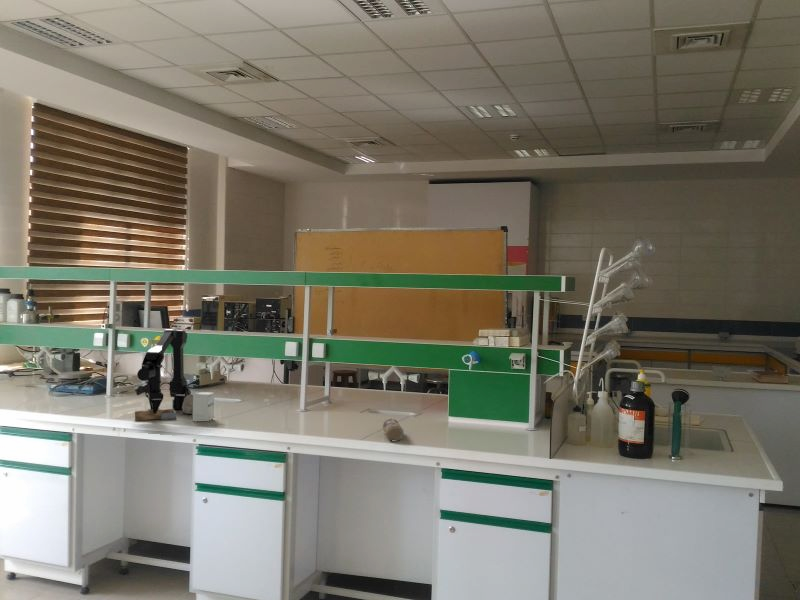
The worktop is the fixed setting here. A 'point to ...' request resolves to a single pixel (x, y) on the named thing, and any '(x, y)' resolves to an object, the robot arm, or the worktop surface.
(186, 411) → the pumice stone
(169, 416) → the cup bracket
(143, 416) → the walnut rail
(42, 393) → the worktop surface
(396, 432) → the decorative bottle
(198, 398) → the supplement box
